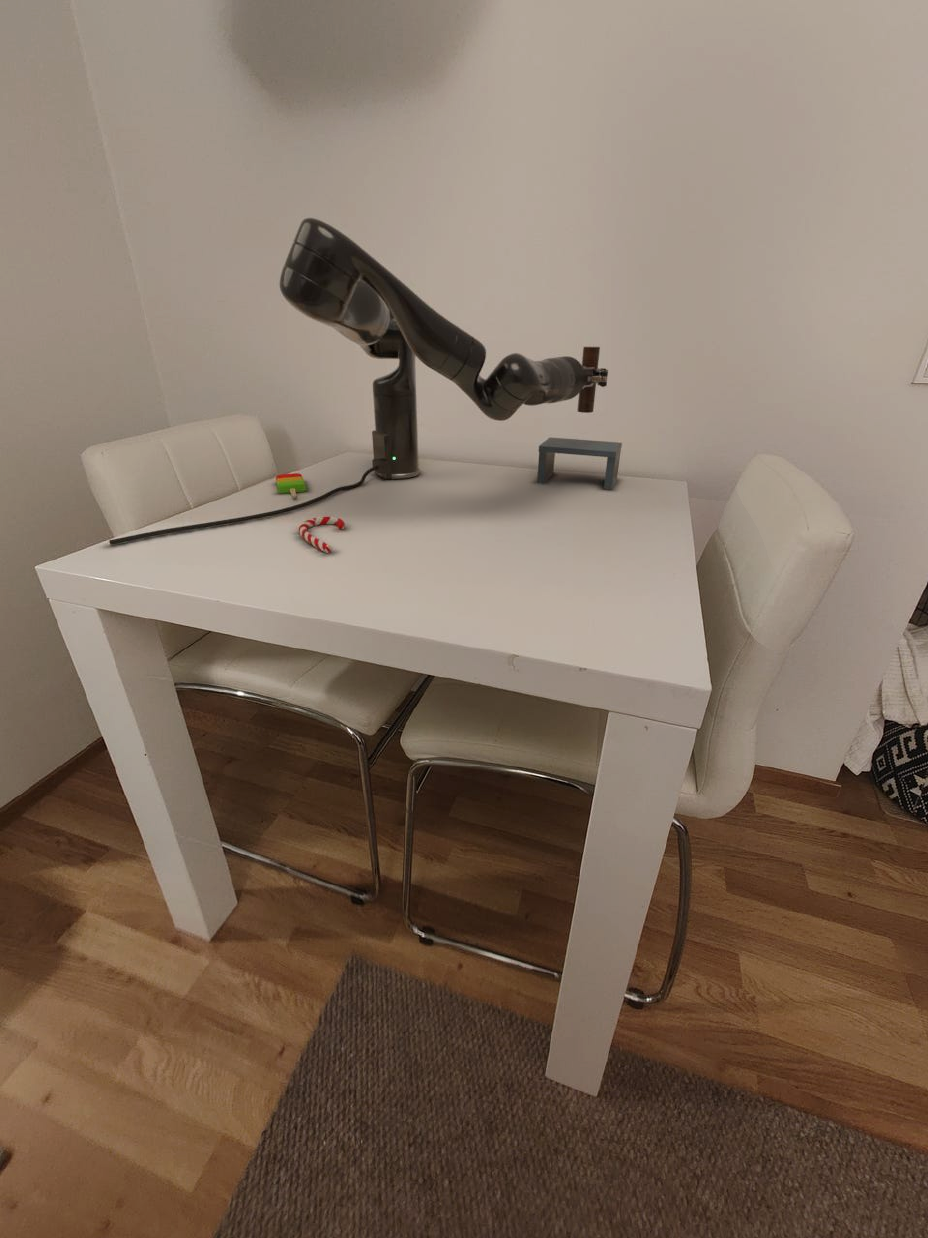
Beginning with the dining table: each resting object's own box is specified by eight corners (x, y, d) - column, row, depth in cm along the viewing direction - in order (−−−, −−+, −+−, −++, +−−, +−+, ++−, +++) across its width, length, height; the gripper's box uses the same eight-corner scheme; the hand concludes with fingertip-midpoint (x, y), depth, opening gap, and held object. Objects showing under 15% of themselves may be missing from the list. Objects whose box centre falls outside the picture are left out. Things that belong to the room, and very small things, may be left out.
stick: (585, 413, 115) (591, 347, 109) (574, 411, 117) (579, 346, 111) (596, 411, 116) (603, 346, 111) (585, 409, 119) (591, 346, 113)
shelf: (610, 490, 119) (615, 451, 115) (536, 483, 124) (538, 445, 120) (617, 479, 127) (622, 442, 123) (547, 472, 132) (549, 437, 128)
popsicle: (302, 480, 125) (301, 472, 124) (309, 499, 112) (308, 490, 111) (276, 483, 123) (274, 474, 122) (280, 502, 111) (278, 492, 110)
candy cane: (305, 548, 85) (295, 518, 98) (306, 556, 86) (296, 525, 98) (356, 542, 88) (340, 513, 100) (357, 550, 88) (341, 521, 101)
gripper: (520, 399, 108) (562, 390, 121) (589, 405, 101) (625, 395, 114) (522, 355, 105) (565, 351, 117) (593, 359, 98) (631, 354, 110)
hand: (595, 373), depth 115 cm, fingers closed on stick, 3 cm apart
